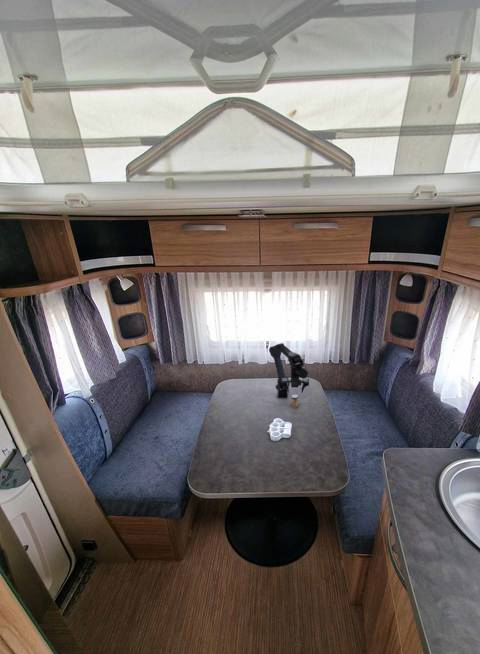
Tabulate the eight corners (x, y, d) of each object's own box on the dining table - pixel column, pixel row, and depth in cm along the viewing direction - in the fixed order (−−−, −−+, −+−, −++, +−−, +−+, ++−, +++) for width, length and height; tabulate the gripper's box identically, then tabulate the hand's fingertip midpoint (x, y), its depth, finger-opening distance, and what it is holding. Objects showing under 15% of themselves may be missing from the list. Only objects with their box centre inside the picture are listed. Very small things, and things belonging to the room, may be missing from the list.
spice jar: (291, 407, 199) (291, 397, 196) (291, 403, 203) (291, 394, 200) (297, 407, 198) (297, 398, 195) (298, 404, 202) (298, 394, 199)
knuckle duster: (289, 442, 167) (265, 440, 169) (292, 423, 183) (269, 421, 185) (289, 437, 165) (265, 435, 167) (292, 419, 181) (269, 417, 184)
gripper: (280, 377, 184) (280, 398, 190) (309, 378, 181) (308, 399, 188) (281, 370, 194) (282, 389, 200) (309, 370, 191) (308, 390, 198)
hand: (295, 392), depth 196 cm, fingers open, 9 cm apart
